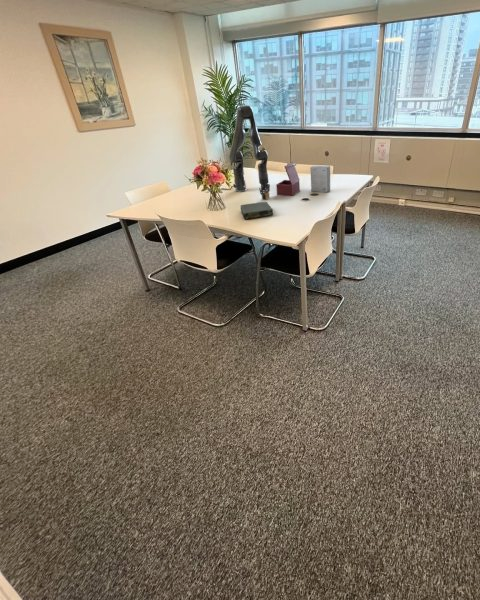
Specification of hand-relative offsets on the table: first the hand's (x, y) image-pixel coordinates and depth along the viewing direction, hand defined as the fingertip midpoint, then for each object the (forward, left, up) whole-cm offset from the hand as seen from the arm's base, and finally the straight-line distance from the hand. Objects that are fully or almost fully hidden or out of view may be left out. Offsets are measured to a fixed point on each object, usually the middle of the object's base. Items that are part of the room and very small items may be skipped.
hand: (265, 198), depth 264 cm
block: (0, 0, 0) cm, 0 cm away
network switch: (+23, -29, -1) cm, 37 cm away
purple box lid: (+8, +24, +16) cm, 30 cm away
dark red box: (+4, +23, 0) cm, 23 cm away
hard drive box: (+23, +44, -1) cm, 50 cm away
